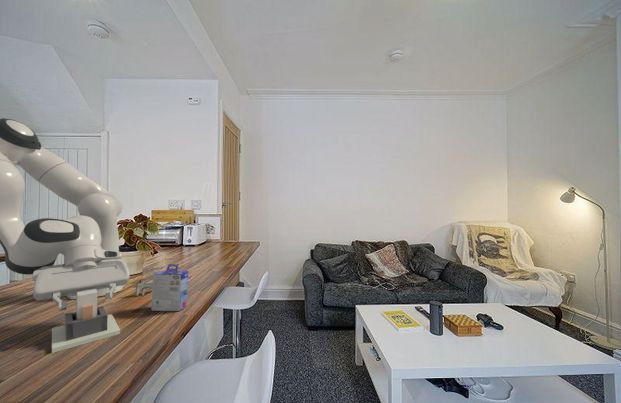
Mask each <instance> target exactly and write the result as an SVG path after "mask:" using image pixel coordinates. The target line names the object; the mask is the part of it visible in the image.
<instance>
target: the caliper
mask: <svg viewBox="0 0 621 403" xmlns="http://www.w3.org/2000/svg"><path fill="white" fill-rule="evenodd" d="M152 282H153V281H148V282H147V281H146V282H145V279H142V280H141V279H140V280H139V282H137V283H136V287H135V296H136V297H139V294H140V296H144V295H145V293H146V291H147V289H149V290H152ZM140 291H141V292H140Z"/></svg>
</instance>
